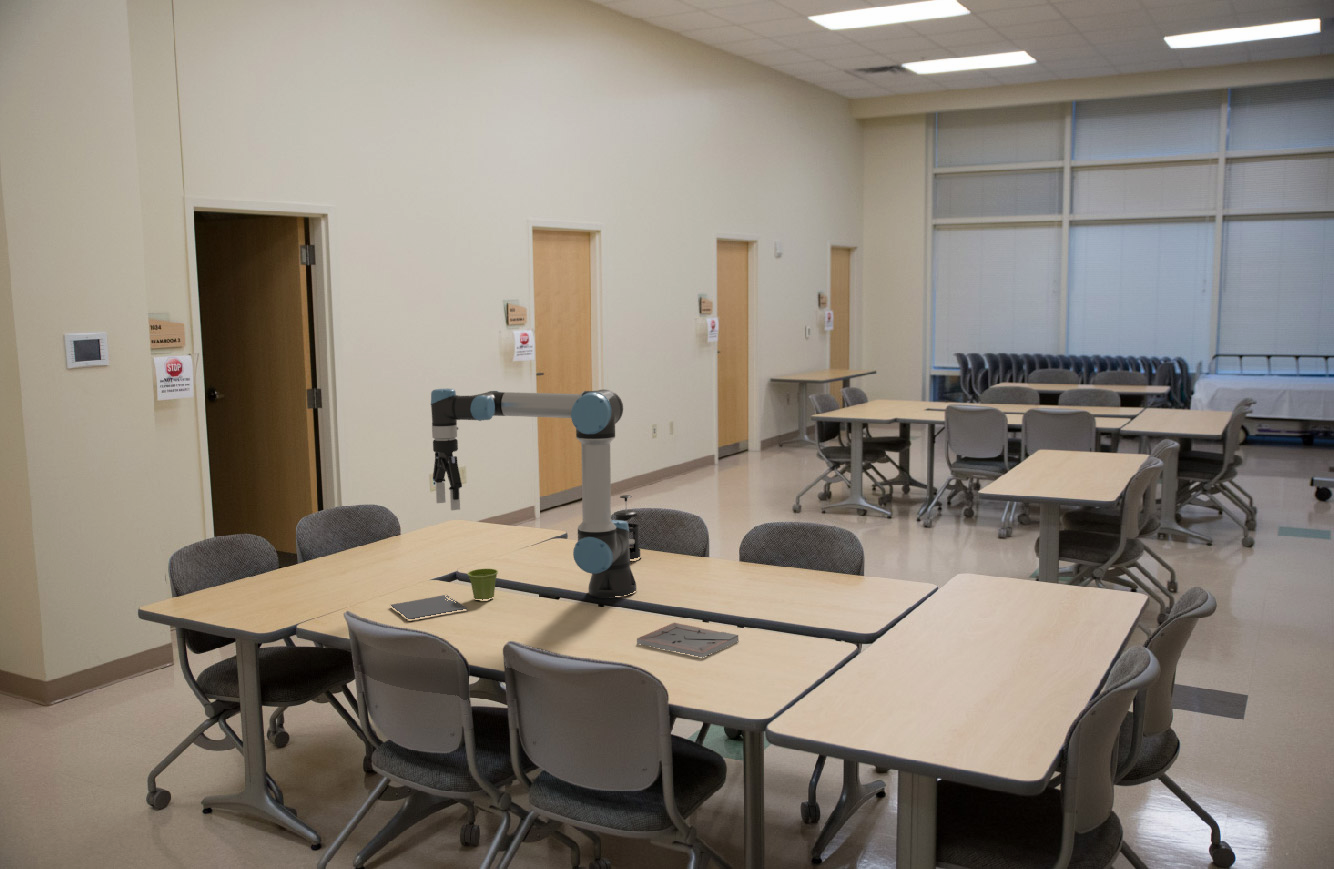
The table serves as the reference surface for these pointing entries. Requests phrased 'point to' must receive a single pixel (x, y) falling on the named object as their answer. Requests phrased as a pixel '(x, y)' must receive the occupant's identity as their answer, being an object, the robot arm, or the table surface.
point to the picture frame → (688, 639)
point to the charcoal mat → (427, 607)
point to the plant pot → (483, 582)
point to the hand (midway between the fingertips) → (448, 506)
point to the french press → (626, 516)
